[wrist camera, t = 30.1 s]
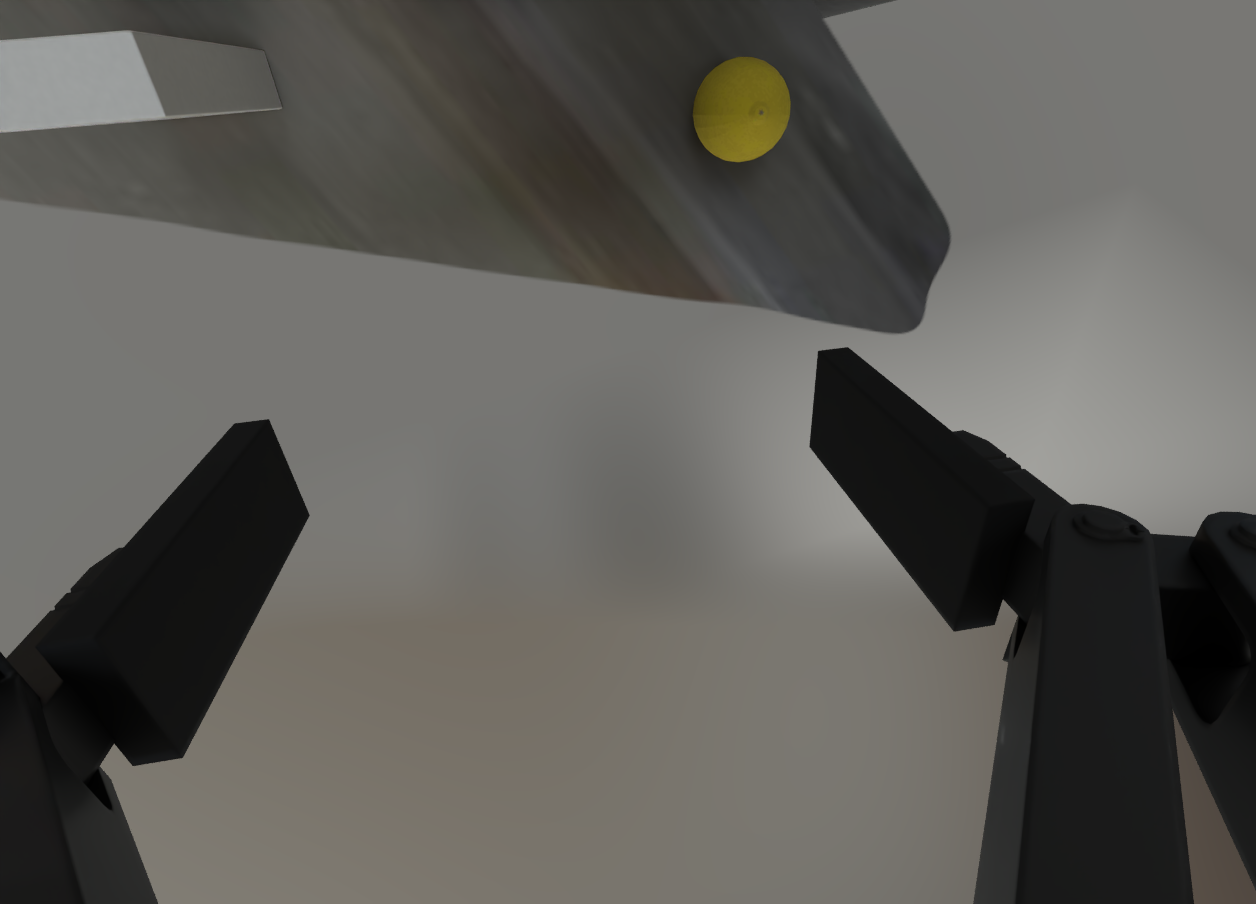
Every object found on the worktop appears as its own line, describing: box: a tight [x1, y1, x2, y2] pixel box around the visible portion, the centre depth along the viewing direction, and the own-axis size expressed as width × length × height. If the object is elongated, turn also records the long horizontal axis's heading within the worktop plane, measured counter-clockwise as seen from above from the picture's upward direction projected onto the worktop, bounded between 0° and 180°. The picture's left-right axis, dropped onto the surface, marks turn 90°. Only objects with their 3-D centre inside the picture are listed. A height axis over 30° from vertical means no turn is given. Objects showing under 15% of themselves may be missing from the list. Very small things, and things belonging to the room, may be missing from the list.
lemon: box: [693, 57, 791, 162], centre depth 37 cm, size 6×6×8 cm
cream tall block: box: [0, 30, 282, 133], centre depth 30 cm, size 3×7×14 cm, turn 94°
